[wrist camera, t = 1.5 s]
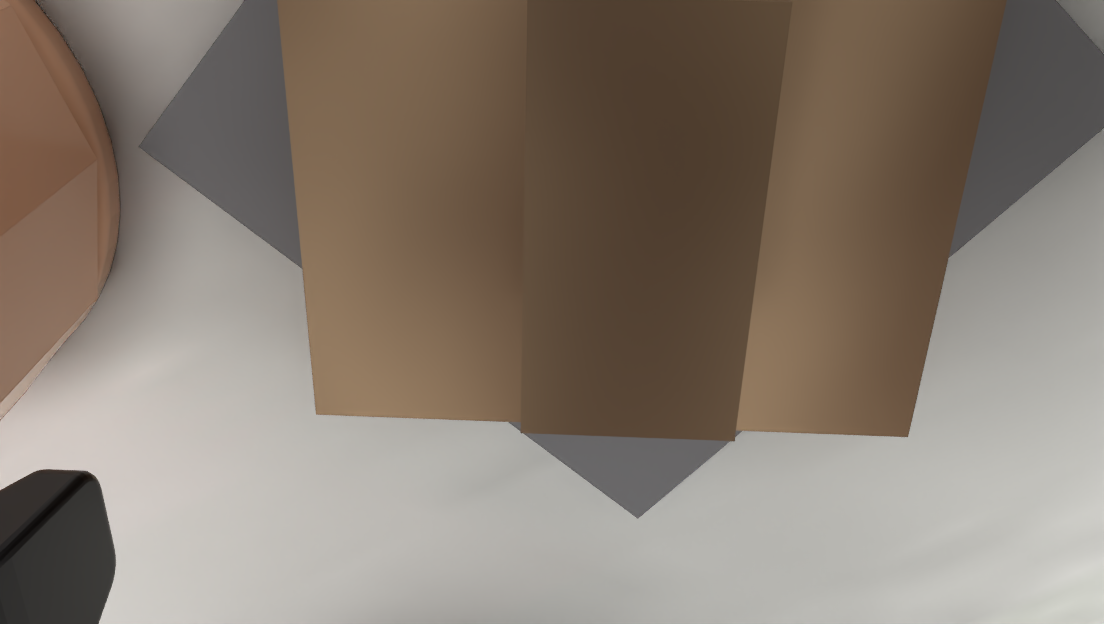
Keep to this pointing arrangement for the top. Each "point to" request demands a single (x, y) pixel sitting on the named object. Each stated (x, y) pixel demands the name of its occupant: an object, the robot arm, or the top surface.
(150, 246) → the top surface
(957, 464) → the top surface
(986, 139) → the mat
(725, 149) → the ridged wooden block
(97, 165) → the bowl
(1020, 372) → the top surface
